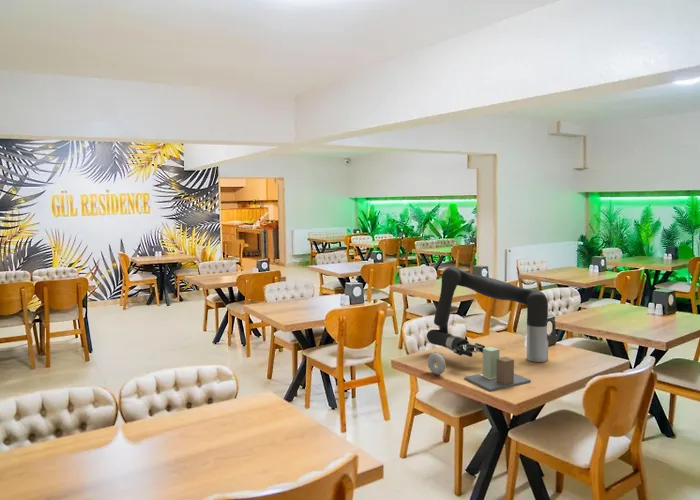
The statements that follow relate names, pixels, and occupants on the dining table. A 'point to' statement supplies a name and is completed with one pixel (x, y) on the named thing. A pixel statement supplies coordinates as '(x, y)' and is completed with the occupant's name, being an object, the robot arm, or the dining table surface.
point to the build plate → (494, 382)
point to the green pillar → (490, 361)
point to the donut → (433, 366)
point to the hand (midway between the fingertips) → (479, 353)
